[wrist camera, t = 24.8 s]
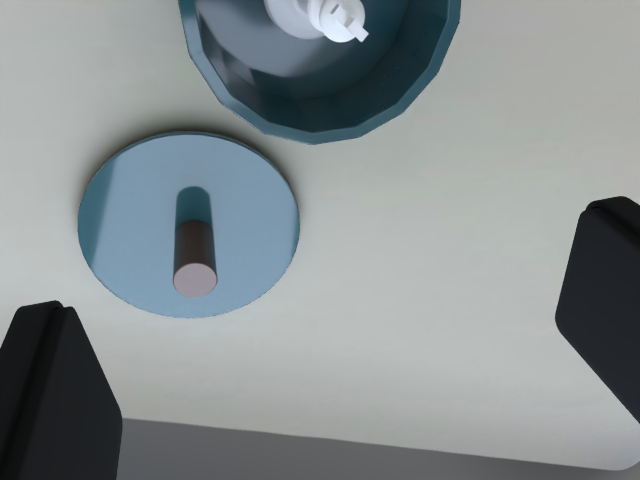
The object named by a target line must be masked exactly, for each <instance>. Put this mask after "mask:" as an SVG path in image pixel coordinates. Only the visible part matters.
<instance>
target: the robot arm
mask: <svg viewBox="0 0 640 480" xmlns="http://www.w3.org/2000/svg"><path fill="white" fill-rule="evenodd" d="M555 321H556V325H557V327H558V330H559V331H560V333H561V334H562V335H563V336H564V337H565V339H566V340H567V341H568V342H569V343H570V344H571V345H572V347H573V348H574V349H575V350H576V351H577V352H578V353H579V355H580V356H581V357H582V358H583V359H584V360H585V361H586V363H587V364H588V365H589V366H590V367H591V368H592V370H593V371H594V372H595V373H596V374H597V375H598V376H599V378H600V379H601V380H602V381H603V382H604V383H605V384H606V386H607V387H608V388H609V389H610V390H611V391H612V392H613V394H614V395H615V396H616V397H617V398H618V399H619V401H620V402H621V403H622V404H623V405H624V406H625V407H626V409H627V410H628V411H629V412H630V413H631V414H632V415H633V417H634V418H635V419H636V420H637V421H638V422H639V423H640V205H638V204H637V203H635V202H634V201H632V200H631V199H629V198H627V197H624V196H618V197H613V198H608V199H602V200H597V201H593V202H591V203H590V204H589V205H588V206H587V208H586V210H585V211H583V212H582V213H581V214H580V217H579V220H578V224H577V228H576V232H575V236H574V240H573V244H572V248H571V252H570V257H569V261H568V265H567V269H566V273H565V277H564V281H563V285H562V289H561V293H560V297H559V301H558V305H557V309H556V314H555ZM121 436H122V416H121V411H120V408H119V406H118V404H117V401H116V399H115V397H114V395H113V393H112V390H111V388H110V386H109V384H108V381H107V379H106V377H105V375H104V372H103V370H102V368H101V366H100V364H99V361H98V359H97V357H96V355H95V352H94V350H93V348H92V346H91V344H90V341H89V339H88V337H87V335H86V332H85V330H84V328H83V326H82V323H81V321H80V319H79V317H78V315H77V312H76V311H75V309H74V308H73V307H63V305H62V304H61V303H60V302H59V301H56V300H55V301H49V302H44V303H38V304H33V305H28V306H22V307H20V308H18V309H17V311H16V313H15V315H14V317H13V320H12V322H11V324H10V327H9V329H8V332H7V334H6V336H5V339H4V341H3V343H2V346H1V348H0V480H116V477H117V468H118V460H119V452H120V444H121Z"/></svg>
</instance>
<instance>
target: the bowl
mask: <svg viewBox="0 0 640 480" xmlns="http://www.w3.org/2000/svg"><path fill="white" fill-rule="evenodd" d="M360 1H361V3H362V5H363V7H364V11H365V21H364V25H363V27H362V28H363V29H364V30H365V31H367V32H368V33H369V34H368V35H367V36H366V38H365V39H364V40H363V41H362V42H361V41H359V40H358V39H357V38H356V37H355V38H353V39H351V40H350V41H347V42H335V41H332V40H330V39H329V38H328V37H327V36H326V35H325V36H323V37H321V38H317V39H312V40H304V39H298V38H295V37H292V36H290V35H288V34H286V33H284V32H283V31H281V30H280V29H279V28H278V27H277V26H276V25H275V24H274V23H273V21H272V20H271V18H270V17H269V15H268V13H267V11H266V8H265V4H264V0H178V4H179V9H180V14H181V18H182V23H183V28H184V33H185V38H186V42H187V47H188V52H189V55H190V57H191V59H192V60H193V62H194V63H195V65H196V66H197V68H198V70H199V71H200V73H201V74H202V76H203V77H204V79H205V80H206V82H207V83H208V85H209V87H210V88H211V90H212V91H213V93H214V94H215V96H216V97H217V99H218V100H219V102H220V103H221V104H222V105H223V106H225V107H226V108H227V109H229V110H230V111H232V112H233V113H235V114H236V115H237V116H239V117H240V118H242V119H243V120H244V121H246V122H247V123H249V124H250V125H252V126H253V127H254V128H256V129H257V130H259V131H260V132H261V133H264V134H266V135H270V136H274V137H279V138H283V139H287V140H292V141H296V142H300V143H305V144H309V145H311V144H312V145H315V144H321V143H328V142H334V141H341V140H347V139H354V138H359V137H361V136H363V135H365V134H367V133H368V132H370V131H372V130H374V129H375V128H377V127H379V126H381V125H383V124H384V123H386V122H388V121H390V120H391V119H393V118H395V117H397V116H398V115H400V114H402V112H404V111H405V110H406V109H407V108H408V107H409V106H410V104H411V103H412V102H413V101H414V100H415V99H416V98H417V96H418V95H419V94H420V93H421V92H422V91H423V90H424V88H425V87H426V86H427V85H428V84H429V83H430V82H431V80H432V79H433V78H434V77H435V76H436V75H437V73H438V72H439V69H440V67H441V65H442V62H443V60H444V57H445V55H446V53H447V50H448V48H449V46H450V43H451V41H452V38H453V36H454V34H455V31H456V29H457V27H458V24H459V20H460V9H461V0H360Z"/></svg>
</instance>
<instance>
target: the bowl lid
mask: <svg viewBox="0 0 640 480" xmlns="http://www.w3.org/2000/svg"><path fill="white" fill-rule="evenodd" d="M299 232H300V220H299V213H298V207H297V204H296V201H295V198H294V195H293V192H292V190H291V188H290V186H289V184H288V183H287V181H286V179H285V178H284V176H283V175H282V174H281V172H280V171H279V170H278V169H277V168H276V167H275V166H274V164H273V163H272V162H271V161H270V160H268V159H267V158H266V157H265V156H263V155H262V154H261V153H260V152H258V151H257V150H255V149H253V148H251V147H250V146H248V145H246V144H244V143H242V142H240V141H237V140H235V139H233V138H230V137H226V136H223V135H219V134H215V133H209V132H202V131H176V132H167V133H163V134H158V135H153V136H150V137H148V138H145V139H142V140H139V141H137V142H135V143H133V144H131V145H129V146H127V147H125V148H123V149H122V150H121V151H119V152H118V153H116V154H115V155H113V156H112V157H111V158H110V159H109V160H108V161H107V162H105V163H104V164H103V165H102V166H101V167H100V169H99V170H98V171H97V172H96V174H95V175H94V176H93V178H92V179H91V181H90V183H89V185H88V186H87V188H86V191H85V193H84V196H83V199H82V201H81V204H80V209H79V214H78V237H79V243H80V246H81V250H82V253H83V256H84V258H85V260H86V262H87V264H88V266H89V267H90V269H91V270H92V272H93V273H94V275H95V276H96V277H97V278H98V280H99V281H100V282H101V283H102V284H103V285H104V286H105V287H106V288H107V289H108V290H110V291H111V292H112V293H113V294H114V295H116V296H117V297H119V298H120V299H122V300H124V301H125V302H127V303H129V304H131V305H133V306H135V307H137V308H139V309H142V310H145V311H148V312H151V313H154V314H158V315H162V316H169V317H175V318H202V317H209V316H215V315H219V314H223V313H227V312H230V311H233V310H235V309H238V308H240V307H243V306H245V305H247V304H249V303H251V302H252V301H254V300H255V299H257V298H259V297H260V296H262V295H263V294H264V293H265V292H267V291H268V290H269V289H270V288H271V287H272V286H273V285H274V284H275V283H276V282H277V281H278V280H279V279H280V278H281V276H282V275H283V274H284V273H285V271H286V269H287V268H288V266H289V264H290V263H291V261H292V258H293V256H294V254H295V251H296V248H297V244H298V240H299Z"/></svg>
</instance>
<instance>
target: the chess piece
mask: <svg viewBox="0 0 640 480" xmlns="http://www.w3.org/2000/svg"><path fill="white" fill-rule="evenodd" d="M264 4H265V8H266V11H267V13H268V15H269V17H270V18H271V20H272V21H273V23H274V24H275V25H276V26H277V27H278V28H279V29H280V30H281V31H283V32H284V33H286V34H288V35H290V36H292V37H295V38H298V39H304V40H312V39H317V38H321V37H323V36H325V35H326V36H327V37H328V38H329V39H330V40H332V41H335V42H347V41H350V40H351V39H353V38H355V37H356V38H357V39H358V40H359V41H361V42H362V41H363V40H364V39H365V38H366V36H367V35H368V34H369V33H368V32H367V31H365V30H364V29H363V28H362V27H363V25H364V21H365V11H364V7H363V5H362V3H361V1H360V0H264Z"/></svg>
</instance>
